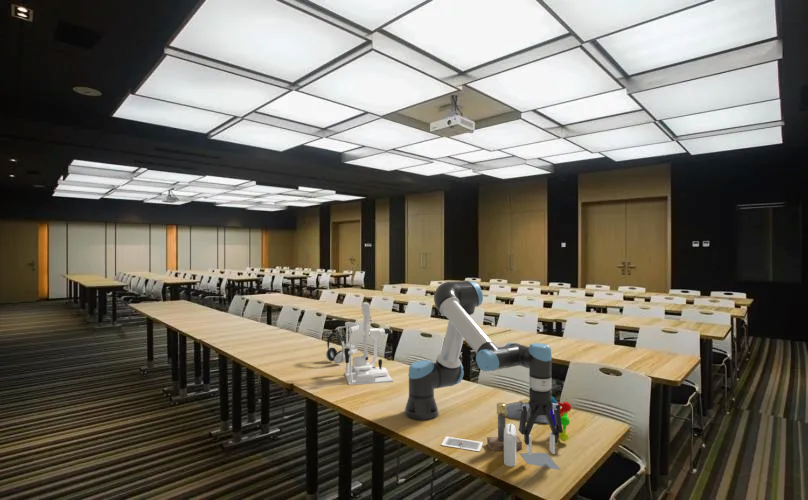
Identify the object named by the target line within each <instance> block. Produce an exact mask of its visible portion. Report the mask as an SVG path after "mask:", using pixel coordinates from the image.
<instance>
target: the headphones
mask: <svg viewBox="0 0 808 500" xmlns="http://www.w3.org/2000/svg"><path fill="white" fill-rule="evenodd" d="M334 337H337V338H338V340H339V341H340V344H341V347H342V348H341V350H339V351H338V350H337V349H336V348H335V347H330V342H331V339H332V338H334ZM326 341H327V342H326V345H327V351H326V353H325V358H326V359H327V360H328V361H330V362H334V363H335V364H342V363H345V354H344V348H345V342H344V338H343V337H342V335H341V334H340V333H338V332H332V333H330V334H329V336H328V338H327V340H326Z"/></svg>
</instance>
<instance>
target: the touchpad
mask: <svg viewBox="0 0 808 500" xmlns="http://www.w3.org/2000/svg"><path fill="white" fill-rule="evenodd" d="M483 443H484V442H483V441H478V440H471V439H464V438H458V437H453V436H452V437H451V436H445V438H443V441H442V443H441V446H444V447H452V448H457V449H463V450H469V451H474V452H475V451H476V452H481V448H482V447H483Z"/></svg>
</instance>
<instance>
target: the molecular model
mask: <svg viewBox="0 0 808 500" xmlns="http://www.w3.org/2000/svg"><path fill="white" fill-rule="evenodd" d="M551 401H552V403H554V404H555V403H557V404H559V405H560V417H561V424H562V430H563V432H562V433H559V435H558V437H559V439H560V440H561V441H562V442H567V441H568V440H569V437H570V436H569V434H568V432H567V426H568V425H570V421H571V420H570V418H569V417H568V412H570V411H571V409H572V405H571V404H570V403H569V402H567V401H564V402H559V401H557V400H556V399H555V397H554V396H552V400H551ZM550 415H551V418H552V420H553V423H554V425H555V427H556V423H555V417H554V409H553V407H552V408H551V410H550Z"/></svg>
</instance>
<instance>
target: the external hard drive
mask: <svg viewBox="0 0 808 500" xmlns="http://www.w3.org/2000/svg"><path fill="white" fill-rule="evenodd" d="M521 411H522V410H521V409H519V410H514V411H509V412H506V417H507V418H511V419H515V420H520V418H521ZM530 412H531V409H530V408H529V409H528V411H527V419H526V422H527V421H528V419H529V416H530ZM549 412H550V411H549ZM534 423H541V424H547V425H549V423H548V421H547V419H546V416H545V415H540V416H537V418H536V420H535V422H534Z"/></svg>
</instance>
